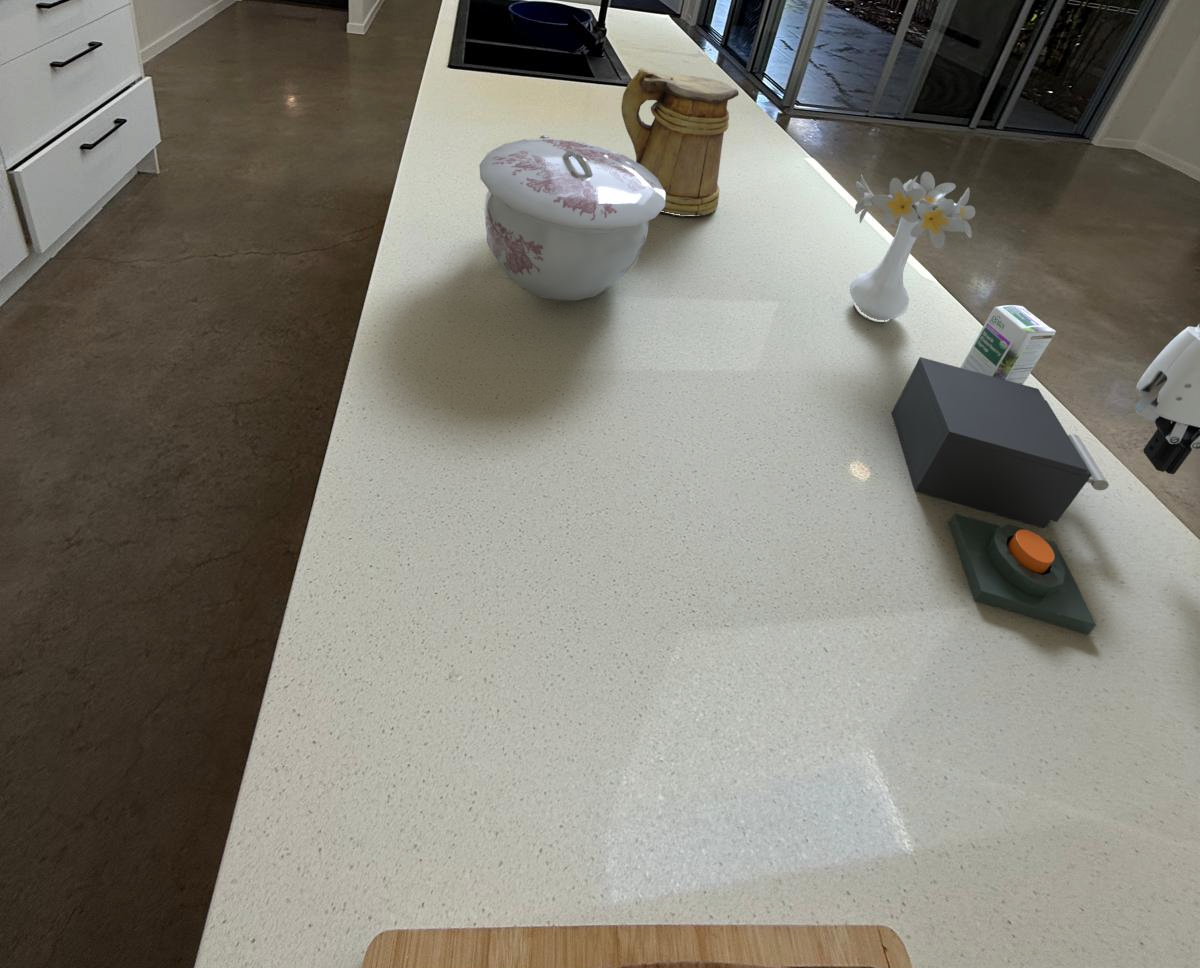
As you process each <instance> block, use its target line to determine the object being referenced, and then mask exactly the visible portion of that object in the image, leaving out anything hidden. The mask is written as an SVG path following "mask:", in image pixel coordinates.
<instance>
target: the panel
mask: <svg viewBox="0 0 1200 968" xmlns="http://www.w3.org/2000/svg"><path fill="white" fill-rule="evenodd" d="M947 524H948V527H949V529H950V532H951V536H952V538H953V542H954V545H955V547H956V551H957V553H958V556H959V560H960V562H961V565H962V568H963V571H964V574H965V577H966V580H967V583H968V586H969V589H970V592H971V594H972V597H973V600H974V602H976V603H980V604H982V605H986V606H989V607H993V608H996V609H999V610H1003V611H1006V612H1009V613H1012V614H1015V615H1016V614H1017V615H1019V616H1023V617H1026V618H1029V619H1033V620H1036V621H1039V622H1043V623H1047V624H1049V625H1052V626H1056V627H1059V628H1063V629H1067V630H1070V631H1073V632H1077V633H1080V634H1083V635H1087V636H1089V635H1090V634H1091V632H1093V630H1094V629H1095V628H1096V627H1097V623H1096V621H1095V619H1094V617H1093V615H1092V613H1091V610H1090V609H1089V606H1088V605H1087V603H1086V601H1085V599H1084V597H1083V594H1082V592H1081V590H1080V589H1079V587H1078V584H1077V582H1076V580H1075V578H1074V576H1073V574H1072V572H1071V570H1070V568H1069V566H1068V564H1067V561H1066V559H1065V558H1064V555H1063V554H1062V552H1061V550H1060V547H1059V546H1058V543H1057V542H1056V541H1053V540H1049V539H1047V538H1043V539H1044V540H1045V541H1046V542H1047V543H1048V544H1049V546H1050V547H1051V548H1052V550H1053V552H1054V556H1055V558H1054V561H1053V562H1052V564H1051V565H1050V566H1049V567H1048V569H1047V570H1046V571H1045V572H1044V573H1034V572H1031V571H1030V570H1028V569H1027V568H1025V567H1024V566H1022V565H1021V564H1019V562H1018V561H1017V560H1016V559H1015V558H1014V557H1013V556H1012V555H1011V553H1010V551H1009V547H1008V545H1009V542H1010V541H1011V539H1012V538H1013V536H1014V535H1015V534H1016V532H1017V531H1018V530H1026V529H1025V528H1023V527H1019V526H1016V525H1013V524H1009V523H1008V524H1003V525H998V524H995V523H991V522H988V521H985V520H981V519H977V518H973V517H971V516H967V515H963V514H961V513H960V514H959V513H957V512H953V513H952V515H951V517H950V518H949V520H948V522H947Z"/></svg>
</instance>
